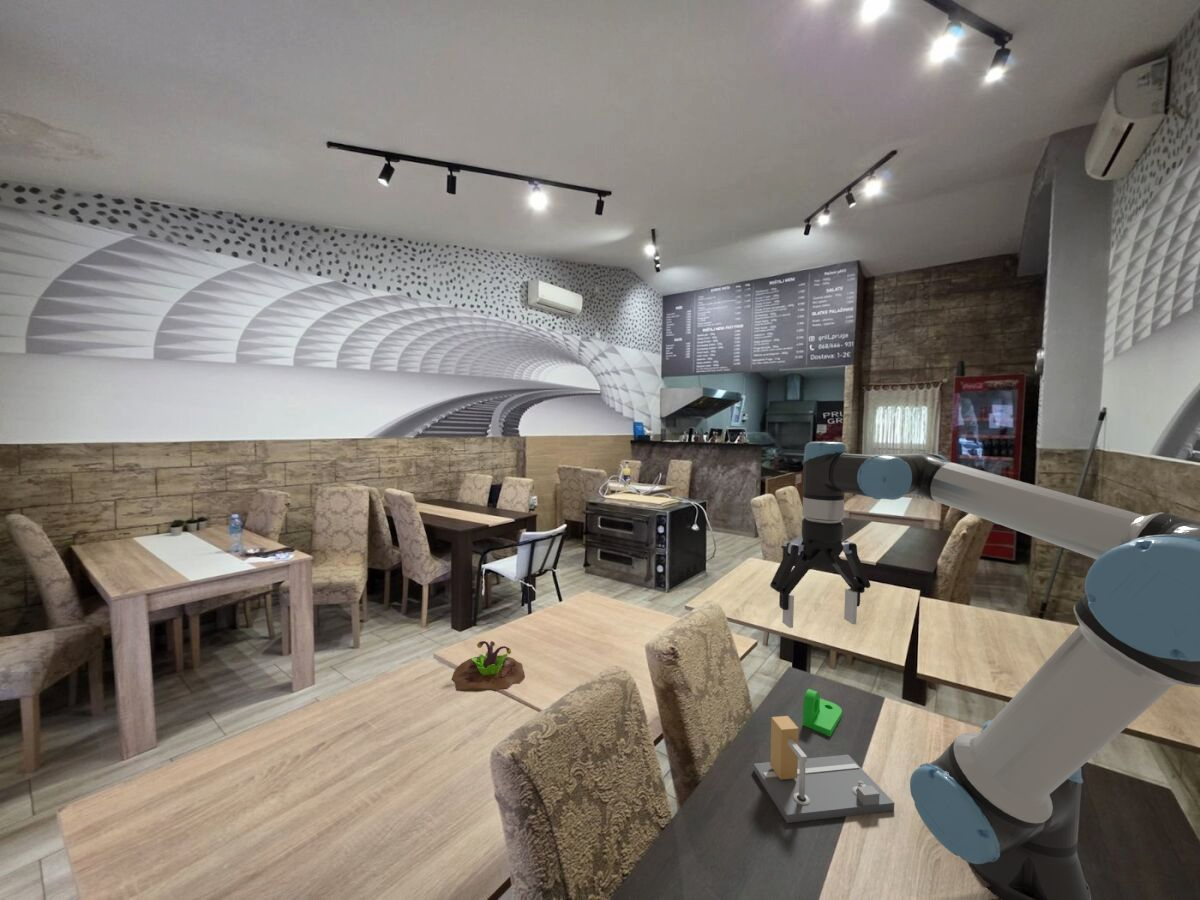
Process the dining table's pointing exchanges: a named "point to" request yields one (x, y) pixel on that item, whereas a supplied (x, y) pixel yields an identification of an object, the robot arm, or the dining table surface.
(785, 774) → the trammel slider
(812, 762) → the plate
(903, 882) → the dining table surface
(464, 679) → the plant
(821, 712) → the mechanical part
